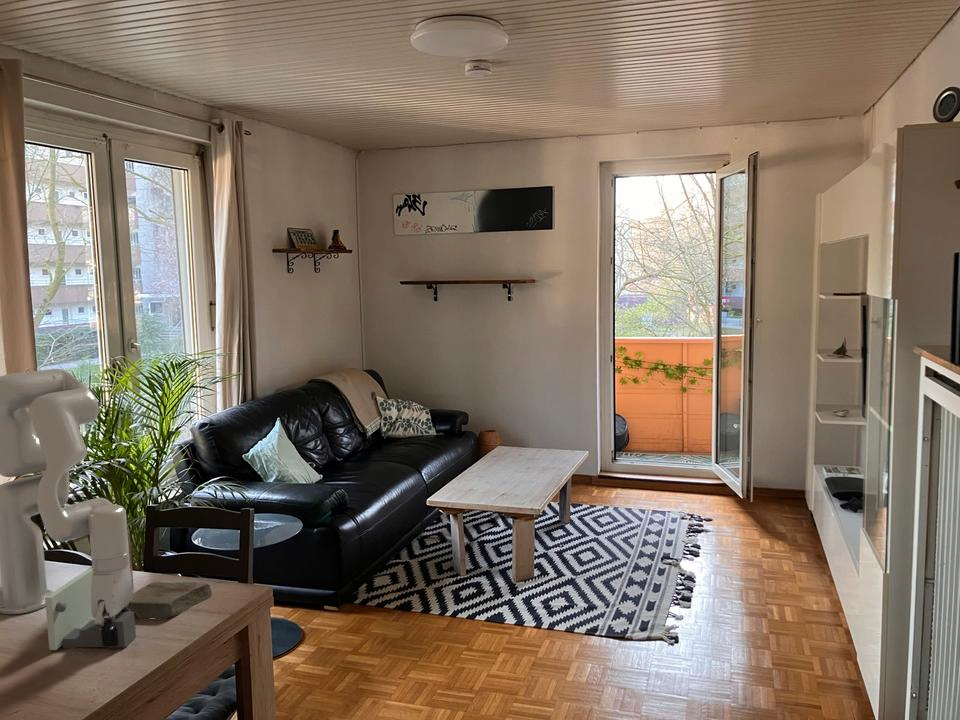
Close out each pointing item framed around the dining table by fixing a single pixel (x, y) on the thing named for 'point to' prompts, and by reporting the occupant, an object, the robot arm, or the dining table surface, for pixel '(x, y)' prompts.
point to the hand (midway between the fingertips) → (116, 638)
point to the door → (69, 608)
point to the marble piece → (168, 598)
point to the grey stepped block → (93, 634)
